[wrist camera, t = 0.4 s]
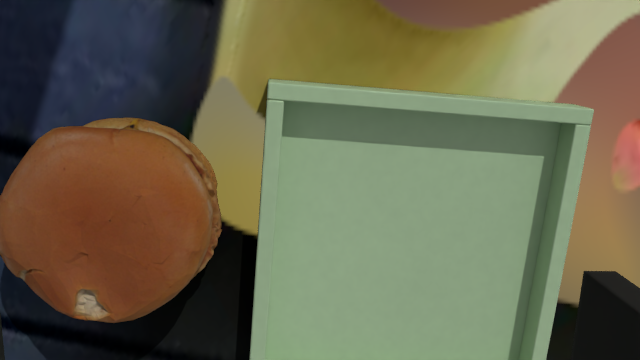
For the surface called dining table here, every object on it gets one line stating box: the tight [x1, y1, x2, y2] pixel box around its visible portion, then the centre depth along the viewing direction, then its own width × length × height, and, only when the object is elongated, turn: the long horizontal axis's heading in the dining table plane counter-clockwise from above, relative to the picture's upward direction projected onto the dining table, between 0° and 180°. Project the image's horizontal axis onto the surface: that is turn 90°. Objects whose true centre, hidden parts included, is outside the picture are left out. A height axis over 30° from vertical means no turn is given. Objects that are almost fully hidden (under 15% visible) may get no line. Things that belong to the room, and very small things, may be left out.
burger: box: [0, 118, 222, 323], centre depth 28 cm, size 10×9×5 cm
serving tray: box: [249, 79, 594, 360], centre depth 30 cm, size 16×16×2 cm
